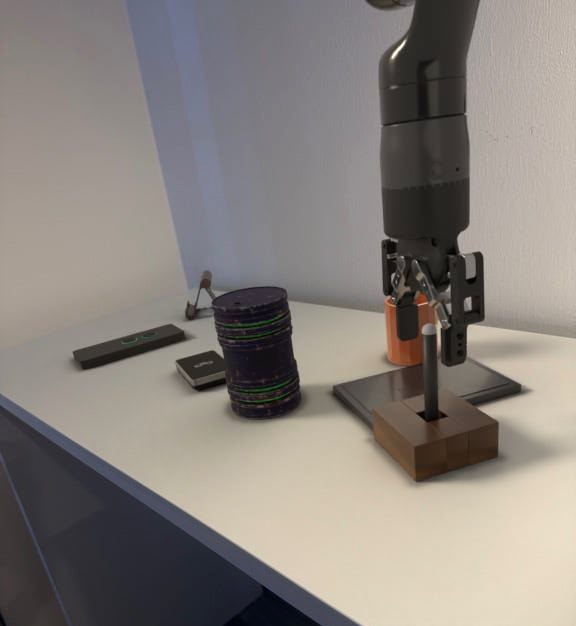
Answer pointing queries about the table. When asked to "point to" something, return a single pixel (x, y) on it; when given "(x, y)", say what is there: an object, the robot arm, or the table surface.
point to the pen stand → (435, 435)
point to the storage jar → (258, 351)
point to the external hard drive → (202, 369)
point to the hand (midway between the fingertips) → (429, 350)
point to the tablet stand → (205, 284)
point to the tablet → (408, 382)
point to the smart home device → (128, 345)
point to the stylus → (430, 372)
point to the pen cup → (411, 349)
